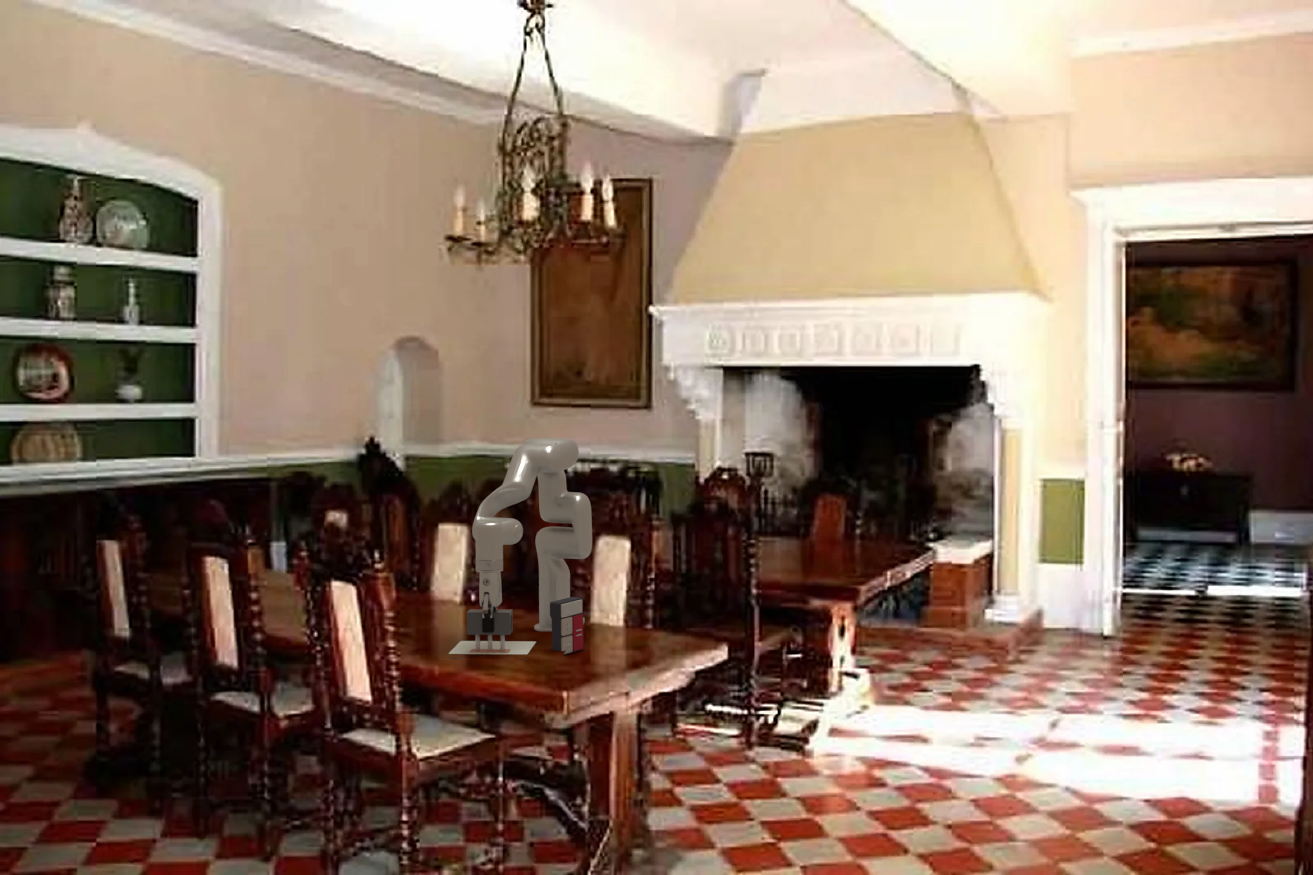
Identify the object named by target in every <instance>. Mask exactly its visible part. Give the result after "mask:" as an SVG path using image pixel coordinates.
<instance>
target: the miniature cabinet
mask: <svg viewBox="0 0 1313 875" xmlns="http://www.w3.org/2000/svg"><path fill="white" fill-rule="evenodd" d="M550 616H551V618H552V631H551V650H552V651H556V652H564V653H563V656H566V655H569V654H573V653H575V652H579V651H582V650H583V649H584V624H583V618H584V614H583V598H582V597H577V596H570V597H569V598H565V599H561V600H557V601H553V602H550Z"/></svg>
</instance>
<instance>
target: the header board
mask: <svg viewBox="0 0 1313 875" xmlns="http://www.w3.org/2000/svg"><path fill="white" fill-rule="evenodd" d="M499 636H500V639H499V640H500V641H499V640H498V641H497V640H493V635H487V640H481V635H474V637H475V640H460V641H459V642H458V643H457V644H456V645H455V646H453V648H452V649H451V650H450V651H449V652H448V655H528V654H529V653H530V651H531V650H532V648H533V647H534V646H535V644H536V643H537V641H532V640H531V641H527V640H526V641H525V640H523V641H522V640H521V641H520V640H518V641H517V640H516V641H515V640H514V641H513V640H512V641H509V640H508V641H507V640H506V639H505V638H506V637H505V636H506V635H499ZM508 659H509V658H504V660H508ZM522 659H523V660H527V661H528V658H522ZM448 660H461V658H455V657H454V658H450V657H449V658H448ZM508 661H509V660H508Z"/></svg>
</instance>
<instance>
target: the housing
mask: <svg viewBox="0 0 1313 875" xmlns="http://www.w3.org/2000/svg"><path fill="white" fill-rule="evenodd" d="M489 610H490V611H491V609H489ZM490 613H491V612H490ZM482 615H483V608H482V609H481V608H480V609H476V608H475V609H473V608H470V609H468V610H467V611H466V635H472V636H473V635H474V636H475V635H480V636H483V635H484V636H485V635H487V636H488V635H492V636H496V635H498V636H500V635H505V636H510V635H511V633H513V631H514V630H513V615H514V614H513V609H501V608H500V609H498V608H497V609H493V618H494V632H493V633H483V632H482Z"/></svg>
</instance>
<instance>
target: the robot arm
mask: <svg viewBox="0 0 1313 875" xmlns="http://www.w3.org/2000/svg"><path fill="white" fill-rule="evenodd" d="M579 455H580V454H579V446H578V444H577V443H576V441H575V440H573V439H571V438H555V437H554V438H553V437H533V438H532V437H531V438H529V439H526V440H525V441H524V442H523V444H522V445H518V447H517V448H516V449H515V450H514V452H513V455H512V458H511V460H510V464H509V466H508V469H507V472H506V475H505V477H504V480H503V482H502V484H501V485H500V486H499V487H497V488H496V489H495V490H494V491H492V492H491V493H490V494H489V495H488V496H487V497H485V499H483V500H482V502H481V503H480V505H479V506H478V508H477V512H476V514H475V516H474V519H473V523H472V526H471V530H472V532H471V534H472V538H473V539H474V541H475V571H476V572H478V573H479V578H478V579H479V585H478V589H479V590H478V592H479V593H478V595H479V598H478V600H479V606H480V607H481V608H482V609H483V615H482V632H483V633H493V632H494V618H493V609H498V607H499V606H500V605H501V604H502V603H503V597H502V596H503V593H502V576H501V572H503V571H504V545H506V546H507V545H509V546H510V545H514V544H515V545H516V544H517V543H519V542H520V540H521V539H522V537H523V534H524V528H523V525H522V523H521V522H520V521H519V520H518V519H515V518H511V517H494V516H496V514H498V513H499V512H500V511H502V510H503V509H506V508H508V507H510V506H513V505H516V504H519V503H521V502H522V501H525V500H527V499H528V498H529V497H530V496H531V493H532V490H533V487H534V486H535V482H536V479H537V483H538V484H537V485H538V504H539V508H538V510H539V515H540V518H541V519H542V520H543V521H544V522H547V523H554V524H555V523H556V524H572V527H567V526H546V527H543V528H541V529H540V530H539V531H537V532H536V535H535V548H536V553H537V561H538V562H537V563H538V584H539V585H538V602H539V604H538V605H539V606H538V610H539V611H538V612H539V613H538V615H539V617H538V618H539V619H538V620H539V621H538V623H535V624H534V625H533V626H534V628H533V629H534V630H535V631H536V632H552V618H551V616H550V602H553V601H557V600H561V599H565V598H569V597H571V573H570V569H569V566H568V564H567V563H566V561H565V559H573V560H574V559H575V560H584V559H586V558H588V557H589V556H590V555H591V553H592V548H593V527H592V526H593V525H592V524H593V523H592V522H593V519H592V505H591V501H590V499H589V497H588V496H587V495H586V494H585V493H582V492H574V491H573V492H572V491H568V489H567V488H568V487H567V476H566V473H565V470H567V469H570V468H572V467H574V465H575V464H576V462H577V460H578V458H579ZM489 609H491V611H490V610H489ZM490 612H491V613H490ZM585 622H586V621H585V617H583V625H584V624H585Z"/></svg>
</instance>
